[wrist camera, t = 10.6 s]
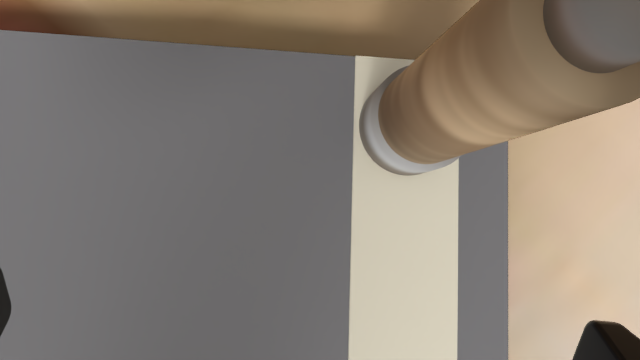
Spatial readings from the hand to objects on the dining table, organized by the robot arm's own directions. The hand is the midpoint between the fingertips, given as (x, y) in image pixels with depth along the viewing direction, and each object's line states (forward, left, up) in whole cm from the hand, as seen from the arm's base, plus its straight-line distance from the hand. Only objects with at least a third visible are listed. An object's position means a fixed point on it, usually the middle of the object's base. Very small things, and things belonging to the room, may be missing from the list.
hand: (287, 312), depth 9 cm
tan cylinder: (+5, -5, -11) cm, 13 cm away
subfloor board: (-1, +1, -12) cm, 12 cm away
